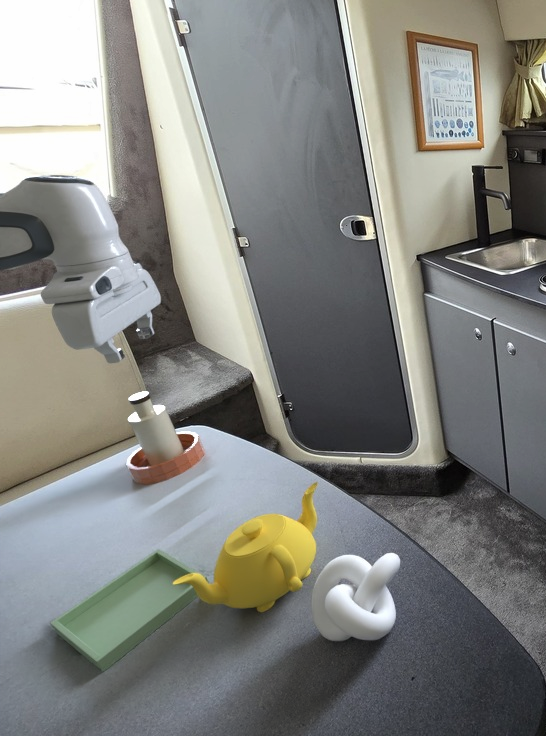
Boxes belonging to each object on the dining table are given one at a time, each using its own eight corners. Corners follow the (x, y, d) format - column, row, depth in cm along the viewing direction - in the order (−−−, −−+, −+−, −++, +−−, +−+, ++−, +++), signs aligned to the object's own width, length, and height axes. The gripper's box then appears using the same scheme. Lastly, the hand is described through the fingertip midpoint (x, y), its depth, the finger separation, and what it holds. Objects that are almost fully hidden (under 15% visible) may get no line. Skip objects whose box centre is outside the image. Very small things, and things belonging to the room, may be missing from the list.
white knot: (420, 632, 68) (408, 586, 65) (323, 685, 62) (304, 638, 59) (402, 570, 77) (391, 528, 74) (316, 612, 71) (300, 568, 68)
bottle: (147, 471, 100) (113, 400, 93) (178, 453, 104) (147, 385, 98) (162, 478, 98) (128, 407, 91) (194, 460, 102) (163, 391, 96)
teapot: (234, 670, 64) (204, 609, 60) (178, 619, 71) (148, 562, 67) (365, 551, 81) (349, 497, 76) (310, 519, 87) (292, 468, 83)
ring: (123, 480, 99) (113, 460, 97) (187, 445, 108) (179, 426, 107) (154, 496, 94) (144, 476, 92) (218, 458, 104) (211, 438, 102)
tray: (56, 632, 70) (49, 623, 69) (163, 557, 81) (158, 548, 80) (103, 672, 65) (96, 662, 64) (211, 586, 76) (206, 576, 75)
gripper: (114, 258, 90) (143, 327, 95) (30, 298, 72) (72, 380, 77) (155, 254, 91) (182, 321, 97) (83, 292, 73) (121, 373, 78)
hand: (133, 348), depth 86 cm, fingers open, 8 cm apart
